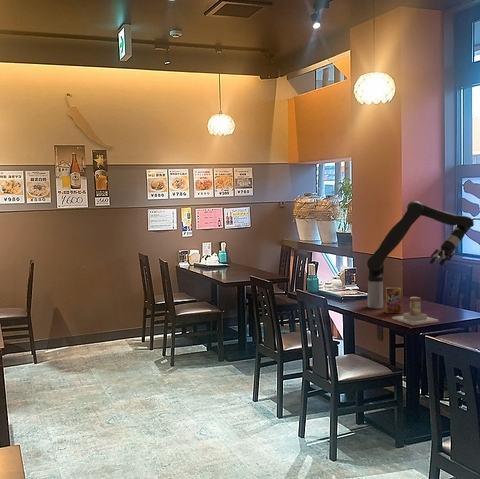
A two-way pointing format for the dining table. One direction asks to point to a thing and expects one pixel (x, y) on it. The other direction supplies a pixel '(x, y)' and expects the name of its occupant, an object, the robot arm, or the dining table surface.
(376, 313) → the dining table surface
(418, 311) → the beige capped cylinder
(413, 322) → the holder
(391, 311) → the candy box
